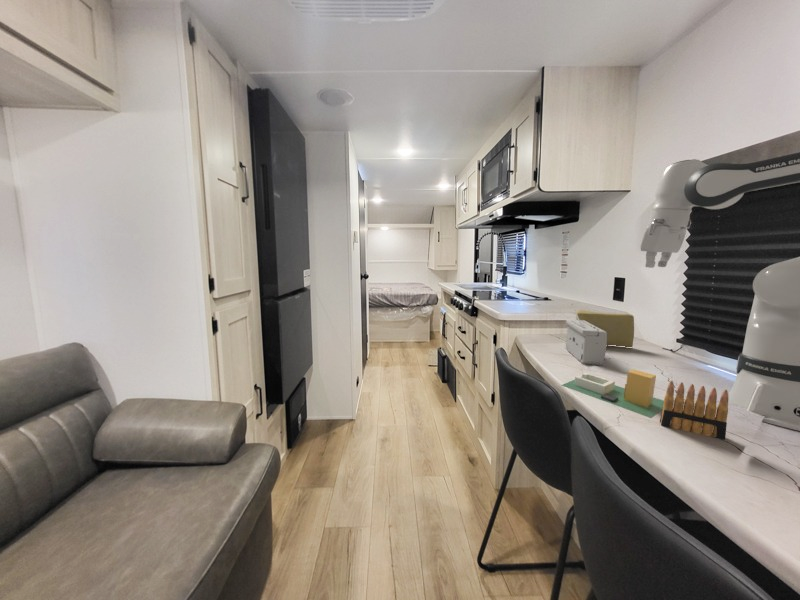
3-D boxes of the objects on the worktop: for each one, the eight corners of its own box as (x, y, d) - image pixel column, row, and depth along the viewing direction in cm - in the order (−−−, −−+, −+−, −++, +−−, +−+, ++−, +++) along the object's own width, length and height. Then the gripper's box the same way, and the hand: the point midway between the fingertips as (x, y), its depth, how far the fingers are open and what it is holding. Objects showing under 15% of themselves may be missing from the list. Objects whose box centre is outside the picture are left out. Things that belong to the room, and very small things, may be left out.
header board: (670, 407, 82) (672, 394, 81) (650, 422, 74) (652, 408, 73) (584, 379, 100) (585, 368, 99) (560, 388, 92) (561, 377, 92)
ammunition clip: (660, 430, 71) (667, 381, 69) (658, 426, 72) (665, 378, 71) (724, 445, 65) (734, 392, 64) (721, 441, 67) (730, 389, 65)
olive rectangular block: (630, 345, 138) (634, 313, 136) (633, 351, 130) (638, 317, 128) (574, 338, 149) (577, 308, 147) (574, 343, 141) (577, 311, 139)
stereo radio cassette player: (605, 366, 111) (611, 313, 108) (580, 365, 113) (585, 311, 110) (583, 349, 132) (587, 303, 129) (562, 348, 133) (566, 303, 130)
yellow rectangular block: (652, 404, 81) (656, 375, 80) (646, 407, 79) (650, 378, 78) (627, 396, 85) (630, 368, 84) (621, 399, 83) (625, 371, 82)
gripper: (668, 218, 82) (654, 269, 85) (693, 222, 93) (680, 268, 96) (640, 217, 87) (628, 266, 90) (667, 222, 98) (656, 265, 101)
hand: (655, 267), depth 93 cm, fingers open, 8 cm apart
